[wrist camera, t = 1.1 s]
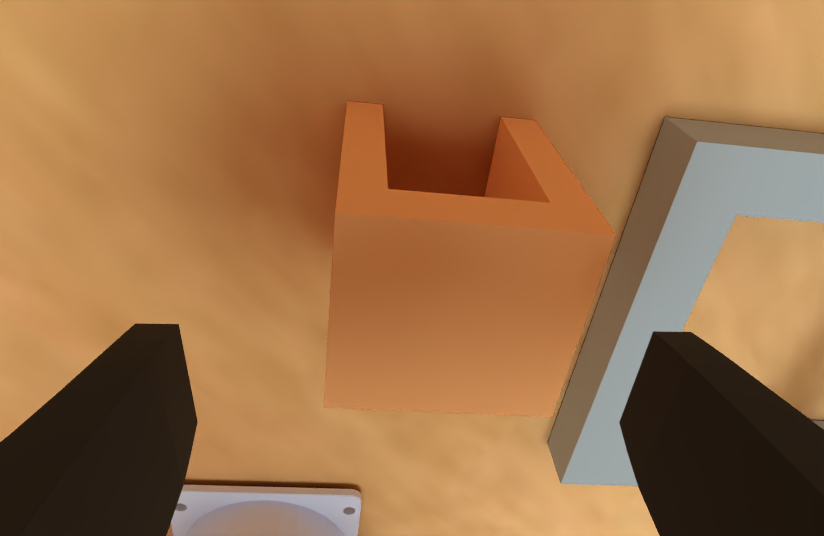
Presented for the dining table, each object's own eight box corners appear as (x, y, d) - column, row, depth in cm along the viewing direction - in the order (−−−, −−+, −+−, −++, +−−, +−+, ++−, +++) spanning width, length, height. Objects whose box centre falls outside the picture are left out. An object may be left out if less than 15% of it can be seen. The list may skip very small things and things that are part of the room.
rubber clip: (499, 265, 20) (551, 416, 14) (337, 254, 19) (323, 407, 13) (534, 120, 17) (616, 234, 11) (347, 101, 16) (335, 212, 11)
